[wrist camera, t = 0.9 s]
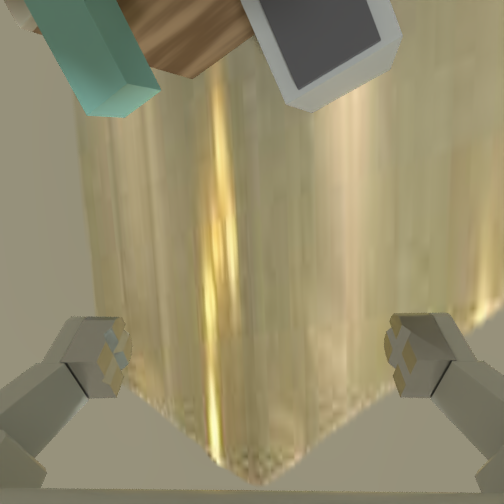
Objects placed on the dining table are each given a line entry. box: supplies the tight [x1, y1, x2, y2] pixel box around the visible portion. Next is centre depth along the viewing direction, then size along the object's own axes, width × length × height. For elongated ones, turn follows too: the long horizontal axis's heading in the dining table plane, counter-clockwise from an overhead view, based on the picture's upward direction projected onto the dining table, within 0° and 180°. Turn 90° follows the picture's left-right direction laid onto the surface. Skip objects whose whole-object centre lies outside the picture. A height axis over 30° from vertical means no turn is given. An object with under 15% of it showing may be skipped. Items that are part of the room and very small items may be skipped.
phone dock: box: [240, 0, 403, 113], centre depth 33 cm, size 14×10×16 cm
